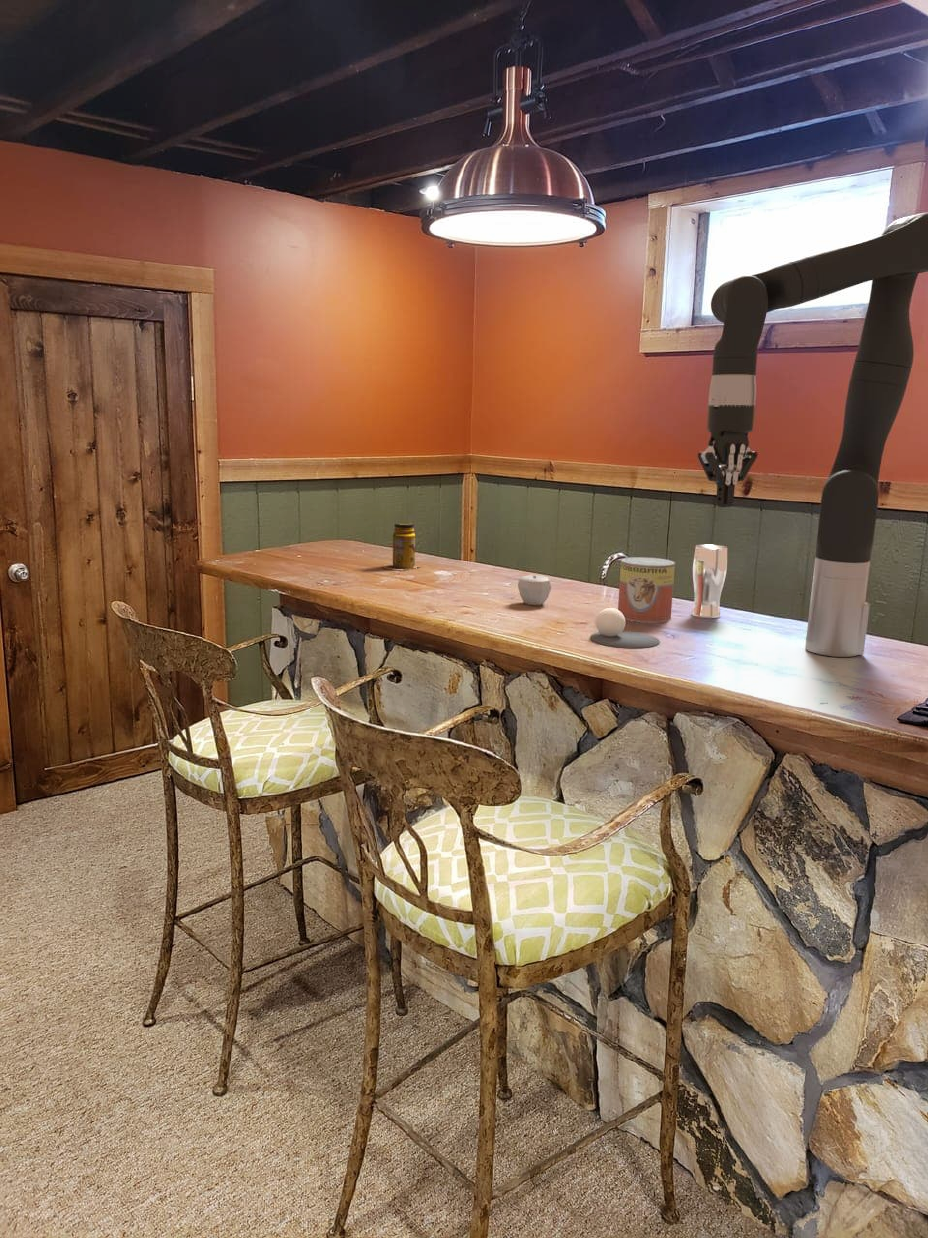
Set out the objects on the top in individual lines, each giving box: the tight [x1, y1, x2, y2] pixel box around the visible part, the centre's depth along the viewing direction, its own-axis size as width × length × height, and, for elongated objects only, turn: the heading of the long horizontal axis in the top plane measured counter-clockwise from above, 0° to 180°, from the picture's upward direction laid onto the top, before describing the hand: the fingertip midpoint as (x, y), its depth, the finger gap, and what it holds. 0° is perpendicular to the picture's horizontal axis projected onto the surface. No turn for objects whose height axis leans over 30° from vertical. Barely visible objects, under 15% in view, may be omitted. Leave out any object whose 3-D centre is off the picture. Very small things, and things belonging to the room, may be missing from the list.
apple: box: [517, 574, 552, 606], centre depth 204 cm, size 8×8×7 cm
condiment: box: [380, 522, 416, 571], centre depth 247 cm, size 7×8×12 cm
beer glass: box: [690, 543, 728, 620], centre depth 195 cm, size 7×7×15 cm
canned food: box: [617, 556, 676, 623], centre depth 193 cm, size 11×11×12 cm
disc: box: [589, 630, 661, 649], centre depth 173 cm, size 13×13×1 cm
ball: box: [595, 607, 626, 637], centre depth 175 cm, size 6×6×6 cm
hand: (724, 506), depth 157 cm, fingers closed
